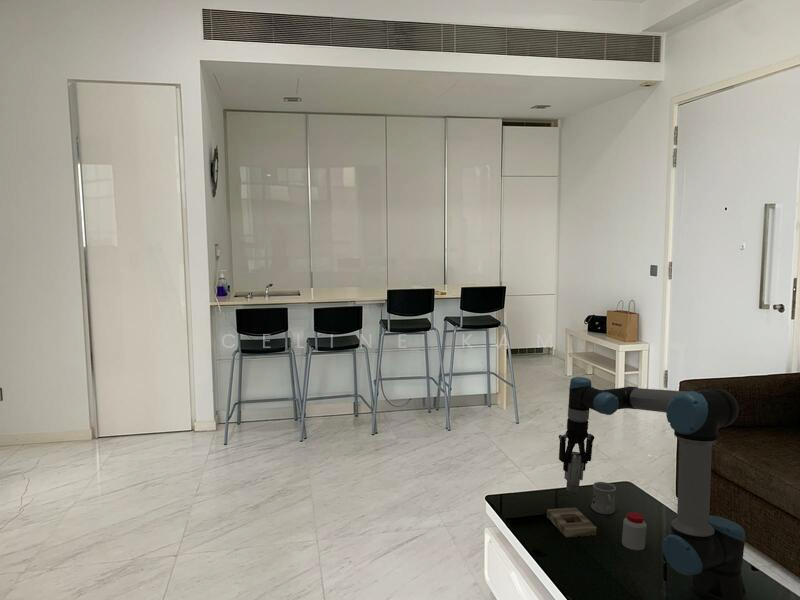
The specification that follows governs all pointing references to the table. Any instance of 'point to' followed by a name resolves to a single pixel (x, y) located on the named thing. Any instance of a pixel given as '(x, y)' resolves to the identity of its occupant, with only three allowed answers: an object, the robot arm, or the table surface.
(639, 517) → the pill bottle
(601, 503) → the mug
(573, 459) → the grey cylindrical peg
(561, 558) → the table surface
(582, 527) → the jig
